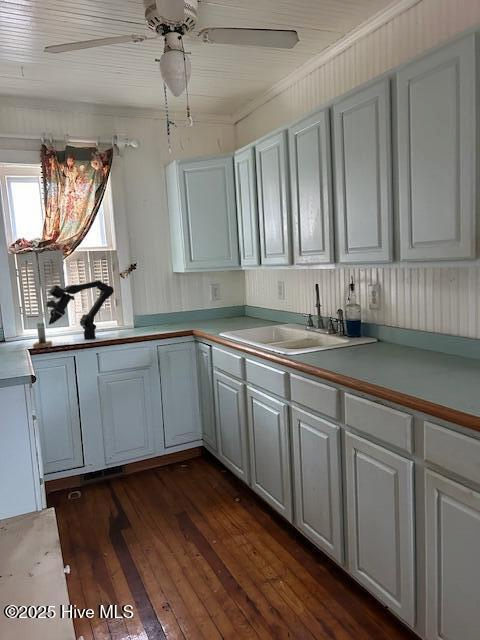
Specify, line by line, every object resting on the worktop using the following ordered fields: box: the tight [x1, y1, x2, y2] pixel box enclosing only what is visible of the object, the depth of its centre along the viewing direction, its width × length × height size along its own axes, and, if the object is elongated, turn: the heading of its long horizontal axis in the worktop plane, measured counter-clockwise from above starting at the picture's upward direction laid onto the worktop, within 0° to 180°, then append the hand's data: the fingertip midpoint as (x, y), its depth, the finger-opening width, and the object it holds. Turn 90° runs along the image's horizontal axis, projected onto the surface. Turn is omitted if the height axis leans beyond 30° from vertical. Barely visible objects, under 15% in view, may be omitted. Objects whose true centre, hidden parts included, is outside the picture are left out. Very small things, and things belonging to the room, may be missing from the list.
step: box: [32, 340, 53, 349], centre depth 294 cm, size 9×9×2 cm
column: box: [36, 322, 47, 343], centre depth 293 cm, size 4×4×12 cm
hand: (50, 323), depth 298 cm, fingers open, 9 cm apart
